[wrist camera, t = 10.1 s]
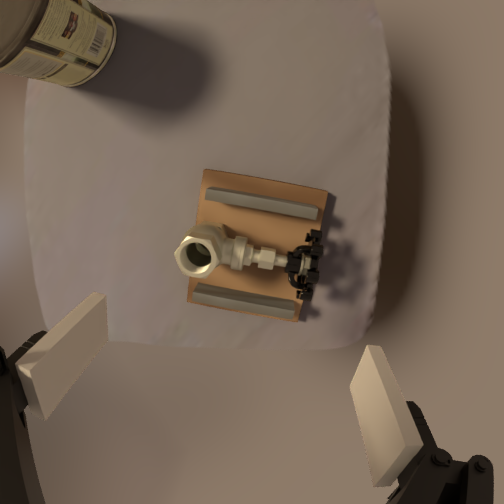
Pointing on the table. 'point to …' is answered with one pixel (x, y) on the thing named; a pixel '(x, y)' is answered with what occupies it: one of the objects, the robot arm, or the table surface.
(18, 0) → the coffee can
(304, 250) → the valve
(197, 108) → the table surface
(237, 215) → the board
